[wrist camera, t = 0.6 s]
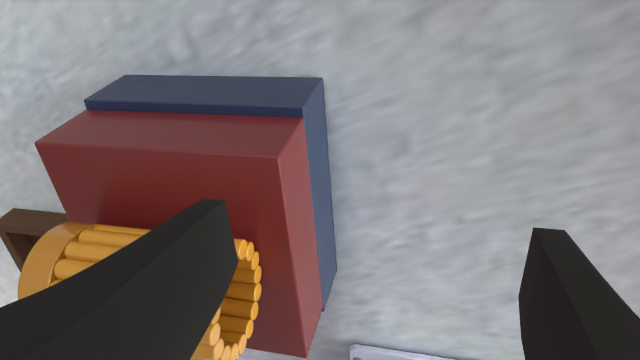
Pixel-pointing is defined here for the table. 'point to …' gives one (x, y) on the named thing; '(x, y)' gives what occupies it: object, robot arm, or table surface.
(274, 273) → the books
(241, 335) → the hollow dowel bundle
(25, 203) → the table surface
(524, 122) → the table surface
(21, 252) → the tray
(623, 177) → the table surface
